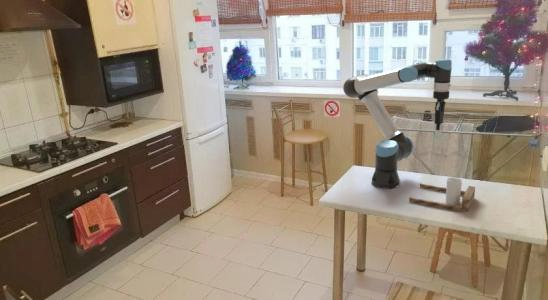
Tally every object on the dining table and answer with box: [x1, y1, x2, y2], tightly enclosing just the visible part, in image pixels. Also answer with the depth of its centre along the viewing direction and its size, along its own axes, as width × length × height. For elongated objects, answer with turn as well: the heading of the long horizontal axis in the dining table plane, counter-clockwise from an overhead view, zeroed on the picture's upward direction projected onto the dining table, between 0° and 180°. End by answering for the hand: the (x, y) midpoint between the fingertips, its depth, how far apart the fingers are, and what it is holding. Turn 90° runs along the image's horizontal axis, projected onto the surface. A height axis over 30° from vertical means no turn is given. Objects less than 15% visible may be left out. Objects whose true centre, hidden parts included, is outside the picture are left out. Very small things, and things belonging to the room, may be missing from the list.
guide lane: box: [408, 183, 466, 213], centre depth 213 cm, size 24×20×2 cm
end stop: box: [461, 185, 476, 212], centre depth 205 cm, size 3×17×6 cm, turn 147°
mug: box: [445, 177, 463, 206], centre depth 208 cm, size 10×7×12 cm, turn 154°
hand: (437, 135), depth 219 cm, fingers closed
